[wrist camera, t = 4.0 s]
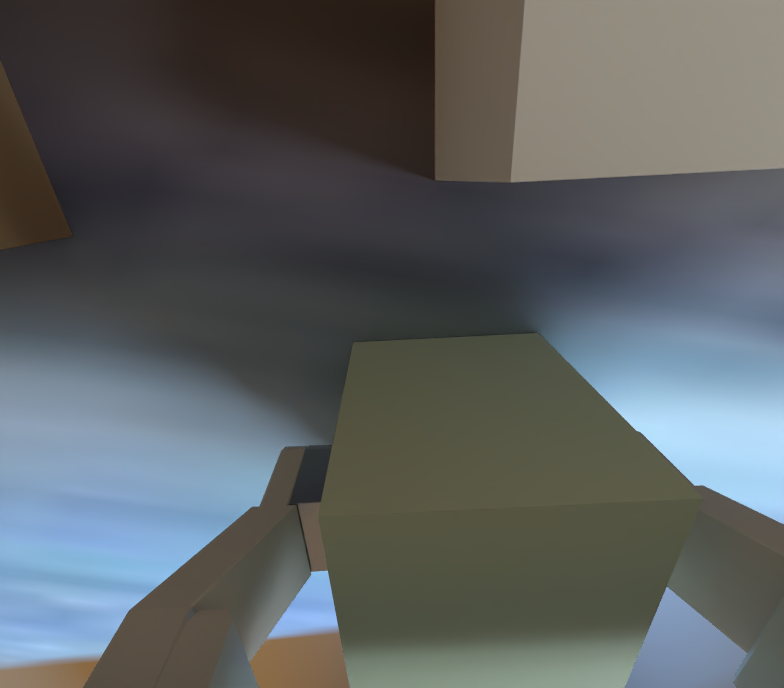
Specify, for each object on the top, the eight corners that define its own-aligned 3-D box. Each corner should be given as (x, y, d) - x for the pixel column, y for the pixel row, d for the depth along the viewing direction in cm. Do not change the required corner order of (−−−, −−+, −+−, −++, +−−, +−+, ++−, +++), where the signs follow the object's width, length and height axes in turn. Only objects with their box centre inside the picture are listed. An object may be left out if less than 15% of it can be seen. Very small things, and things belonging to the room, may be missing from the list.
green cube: (538, 332, 9) (703, 498, 4) (520, 474, 11) (621, 695, 6) (353, 342, 9) (317, 516, 4) (367, 481, 11) (352, 707, 6)
